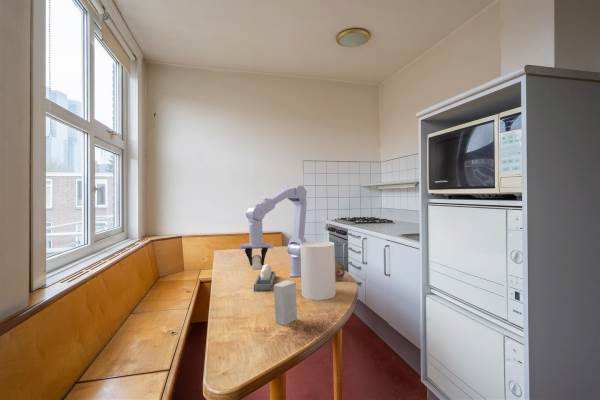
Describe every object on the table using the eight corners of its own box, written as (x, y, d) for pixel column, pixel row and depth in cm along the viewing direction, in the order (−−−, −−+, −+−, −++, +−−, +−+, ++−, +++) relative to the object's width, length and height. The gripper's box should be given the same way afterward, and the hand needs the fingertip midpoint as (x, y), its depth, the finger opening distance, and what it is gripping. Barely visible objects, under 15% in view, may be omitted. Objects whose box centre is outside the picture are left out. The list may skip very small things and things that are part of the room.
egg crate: (275, 276, 141) (275, 262, 141) (271, 290, 120) (271, 274, 120) (260, 276, 141) (260, 262, 141) (253, 290, 120) (253, 274, 120)
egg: (262, 267, 128) (262, 253, 128) (261, 270, 123) (260, 255, 123) (252, 267, 128) (252, 253, 128) (251, 270, 123) (250, 256, 123)
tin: (312, 280, 133) (311, 261, 133) (313, 278, 136) (313, 260, 136) (344, 282, 129) (344, 263, 128) (345, 279, 132) (345, 261, 132)
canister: (334, 300, 106) (332, 246, 106) (298, 299, 109) (297, 246, 109) (336, 288, 120) (335, 241, 119) (305, 287, 122) (303, 240, 122)
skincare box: (287, 316, 94) (286, 279, 94) (297, 319, 91) (296, 281, 91) (274, 322, 89) (273, 284, 89) (284, 326, 87) (283, 287, 86)
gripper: (237, 235, 121) (238, 267, 121) (271, 234, 121) (272, 266, 121) (240, 233, 128) (241, 263, 129) (273, 232, 128) (274, 262, 128)
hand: (257, 265), depth 125 cm, fingers closed on egg, 4 cm apart
